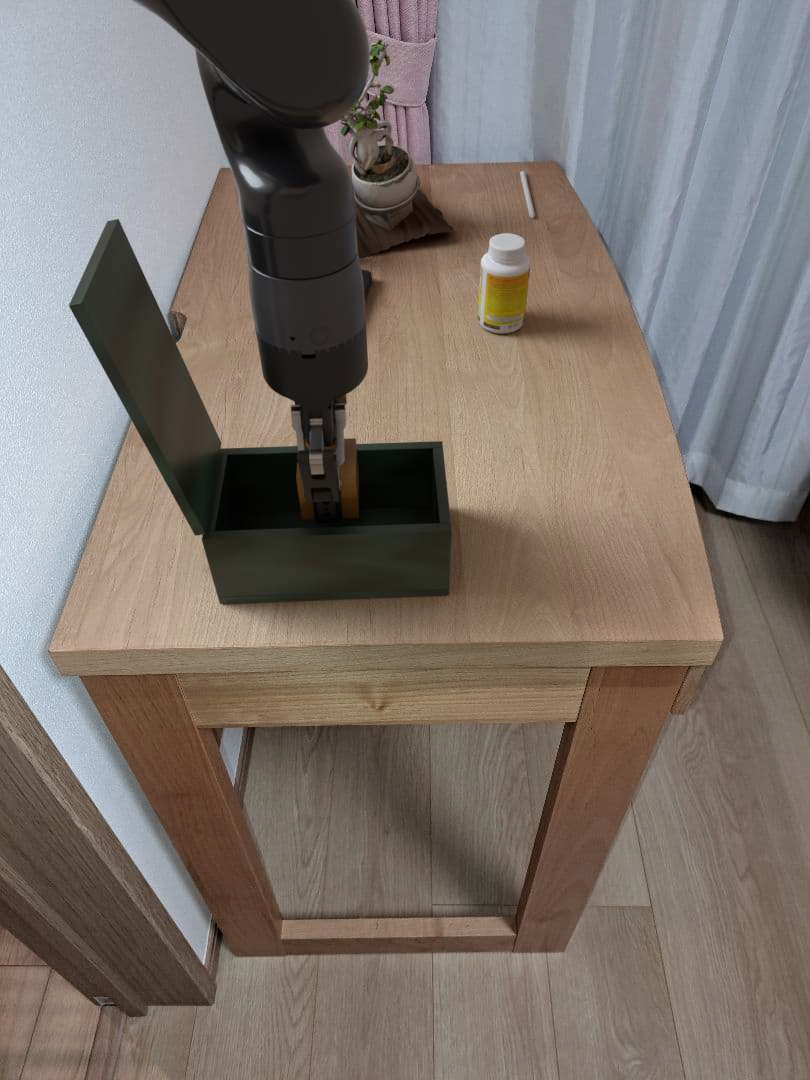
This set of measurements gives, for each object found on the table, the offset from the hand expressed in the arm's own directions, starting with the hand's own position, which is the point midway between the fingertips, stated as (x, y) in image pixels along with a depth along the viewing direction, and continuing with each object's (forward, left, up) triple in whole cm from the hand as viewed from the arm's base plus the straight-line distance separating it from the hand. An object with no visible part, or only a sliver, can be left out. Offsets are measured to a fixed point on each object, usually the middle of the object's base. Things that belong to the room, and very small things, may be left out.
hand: (329, 496), depth 68 cm
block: (0, 0, 0) cm, 0 cm away
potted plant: (+26, +56, -7) cm, 62 cm away
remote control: (+15, +37, -7) cm, 41 cm away
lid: (-10, +4, +12) cm, 16 cm away
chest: (0, 0, -7) cm, 7 cm away
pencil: (+51, +55, -7) cm, 75 cm away
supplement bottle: (+31, +26, -7) cm, 41 cm away
